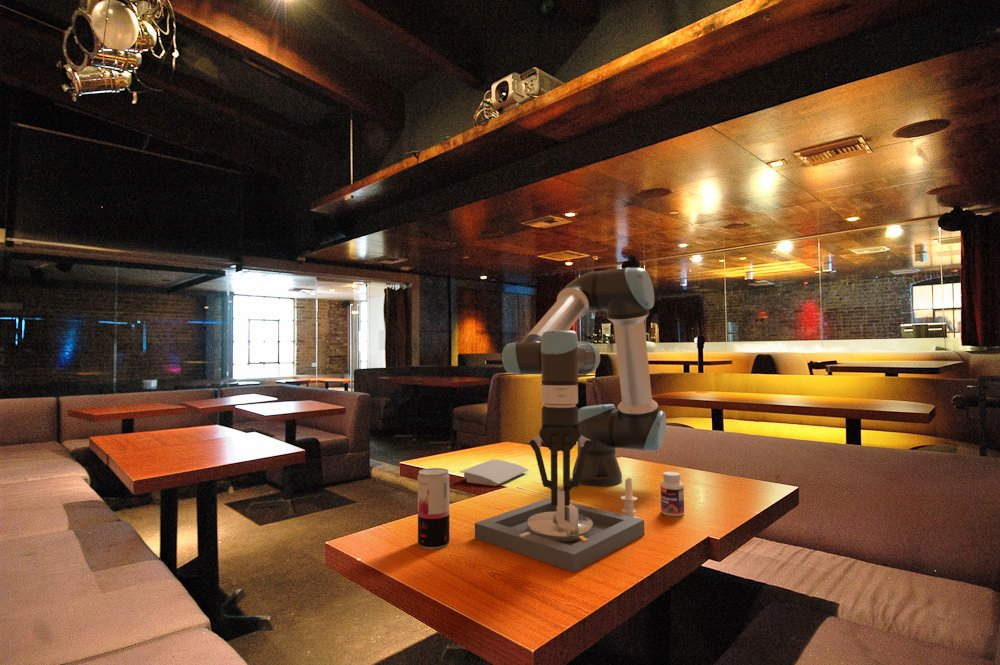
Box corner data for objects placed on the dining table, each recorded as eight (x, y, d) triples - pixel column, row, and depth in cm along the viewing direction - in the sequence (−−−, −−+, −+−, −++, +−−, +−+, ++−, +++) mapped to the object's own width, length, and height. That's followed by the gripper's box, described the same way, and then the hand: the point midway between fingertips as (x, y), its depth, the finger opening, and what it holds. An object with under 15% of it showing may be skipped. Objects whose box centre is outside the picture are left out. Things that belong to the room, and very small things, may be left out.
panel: (549, 510, 129) (549, 496, 129) (644, 534, 111) (644, 518, 111) (474, 538, 110) (474, 521, 110) (574, 572, 92) (574, 552, 93)
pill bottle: (657, 513, 126) (656, 473, 126) (666, 508, 129) (666, 469, 130) (678, 518, 122) (677, 477, 122) (688, 513, 126) (686, 473, 126)
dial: (519, 523, 116) (519, 491, 116) (578, 518, 119) (577, 487, 120) (541, 548, 101) (540, 512, 101) (606, 541, 104) (606, 506, 104)
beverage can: (422, 551, 103) (422, 476, 104) (414, 541, 109) (414, 469, 110) (453, 546, 106) (453, 472, 106) (444, 536, 112) (443, 466, 112)
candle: (616, 523, 119) (615, 478, 119) (619, 516, 124) (618, 473, 124) (640, 525, 117) (638, 479, 117) (641, 518, 122) (640, 474, 122)
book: (452, 484, 158) (452, 471, 158) (490, 469, 178) (490, 458, 178) (496, 490, 151) (496, 477, 151) (530, 474, 171) (530, 462, 171)
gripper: (528, 407, 102) (529, 527, 101) (594, 407, 102) (595, 528, 101) (527, 403, 110) (528, 515, 109) (588, 403, 109) (589, 516, 108)
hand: (560, 521), depth 105 cm, fingers closed
